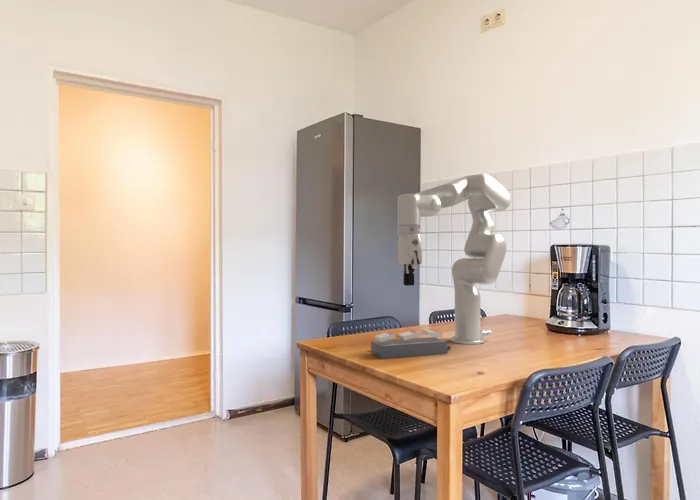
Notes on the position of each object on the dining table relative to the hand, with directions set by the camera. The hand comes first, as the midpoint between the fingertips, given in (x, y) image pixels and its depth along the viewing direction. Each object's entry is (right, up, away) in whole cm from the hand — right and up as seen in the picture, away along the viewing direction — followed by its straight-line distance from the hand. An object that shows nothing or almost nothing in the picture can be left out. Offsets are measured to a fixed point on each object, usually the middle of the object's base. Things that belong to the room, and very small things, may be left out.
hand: (408, 285), depth 164 cm
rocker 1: (-8, -18, -2) cm, 20 cm away
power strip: (+2, -23, +1) cm, 23 cm away
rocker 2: (0, -18, 0) cm, 18 cm away
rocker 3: (+8, -18, +3) cm, 20 cm away
